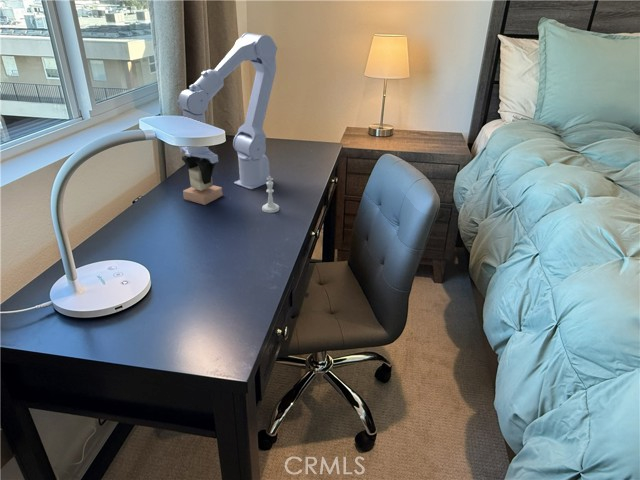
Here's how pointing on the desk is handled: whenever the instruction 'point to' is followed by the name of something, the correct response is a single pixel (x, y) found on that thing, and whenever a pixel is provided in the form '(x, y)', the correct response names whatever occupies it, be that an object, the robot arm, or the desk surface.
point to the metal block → (198, 179)
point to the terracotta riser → (202, 194)
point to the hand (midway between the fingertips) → (201, 180)
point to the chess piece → (270, 199)
